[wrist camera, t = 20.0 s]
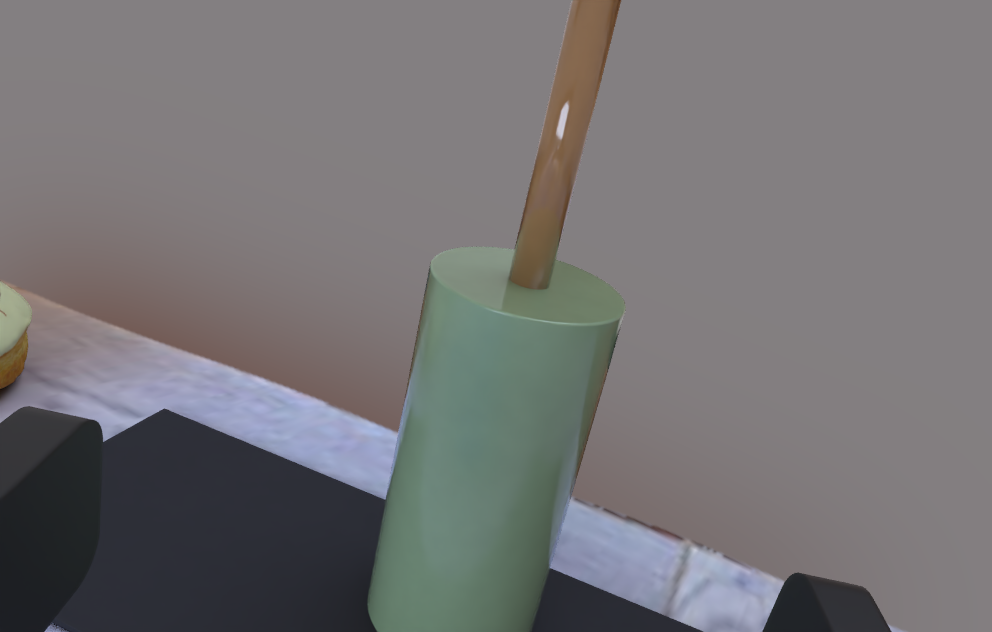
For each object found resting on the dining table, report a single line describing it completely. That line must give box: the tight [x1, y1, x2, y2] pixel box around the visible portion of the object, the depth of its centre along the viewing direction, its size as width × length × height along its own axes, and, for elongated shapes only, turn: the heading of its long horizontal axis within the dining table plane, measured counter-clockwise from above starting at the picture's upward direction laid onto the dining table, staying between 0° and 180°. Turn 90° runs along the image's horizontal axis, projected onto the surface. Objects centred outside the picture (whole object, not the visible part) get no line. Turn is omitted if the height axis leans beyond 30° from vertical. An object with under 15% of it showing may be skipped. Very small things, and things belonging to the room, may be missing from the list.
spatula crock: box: [367, 0, 626, 632], centre depth 20 cm, size 5×5×24 cm
